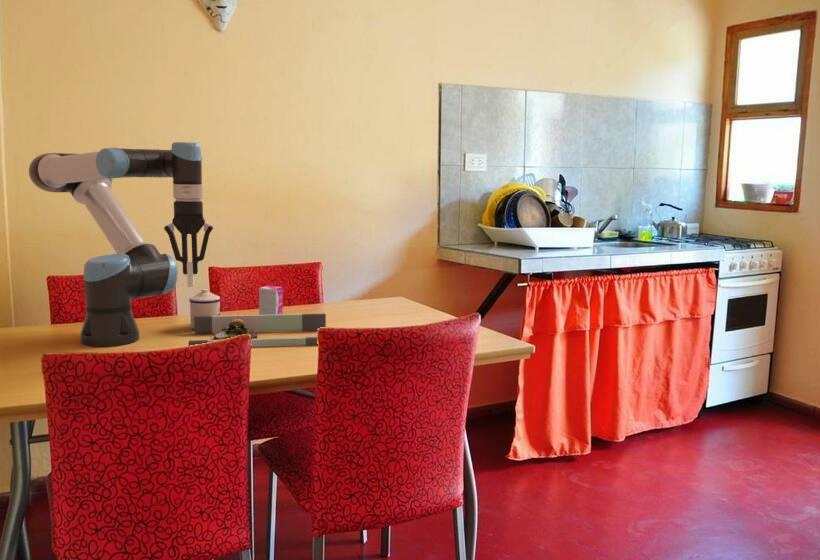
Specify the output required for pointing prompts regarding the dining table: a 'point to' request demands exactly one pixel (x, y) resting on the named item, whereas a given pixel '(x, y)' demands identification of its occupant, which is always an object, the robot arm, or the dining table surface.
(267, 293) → the supplement box
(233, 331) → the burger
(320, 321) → the trap lane
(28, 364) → the dining table surface
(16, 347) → the dining table surface
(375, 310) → the dining table surface
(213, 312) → the teacup with lid
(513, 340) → the dining table surface
